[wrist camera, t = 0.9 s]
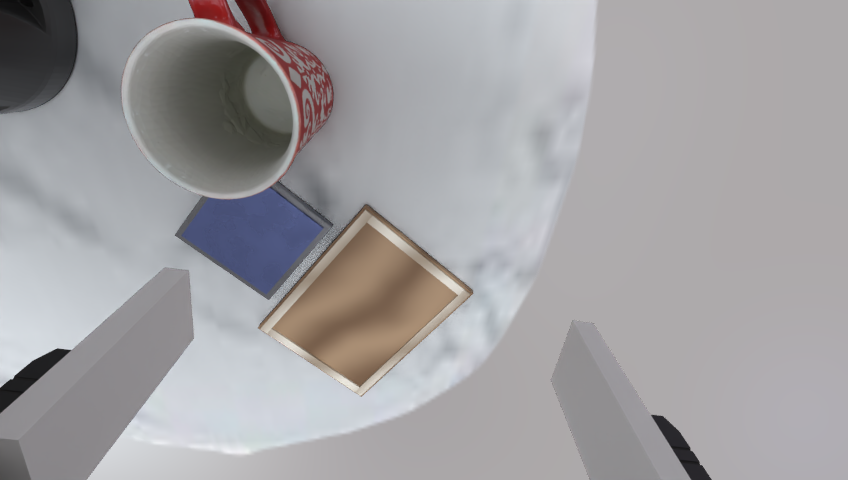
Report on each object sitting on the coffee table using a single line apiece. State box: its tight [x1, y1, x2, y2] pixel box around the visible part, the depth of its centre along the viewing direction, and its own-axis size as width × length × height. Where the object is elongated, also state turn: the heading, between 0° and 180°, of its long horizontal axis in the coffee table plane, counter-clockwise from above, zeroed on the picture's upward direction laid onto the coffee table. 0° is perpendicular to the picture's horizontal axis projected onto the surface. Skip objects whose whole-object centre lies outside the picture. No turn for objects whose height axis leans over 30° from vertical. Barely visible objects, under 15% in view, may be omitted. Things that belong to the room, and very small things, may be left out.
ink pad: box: [175, 181, 333, 300], centre depth 38 cm, size 10×10×1 cm
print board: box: [258, 204, 473, 397], centre depth 42 cm, size 13×17×1 cm
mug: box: [121, 0, 333, 200], centre depth 27 cm, size 13×9×14 cm
